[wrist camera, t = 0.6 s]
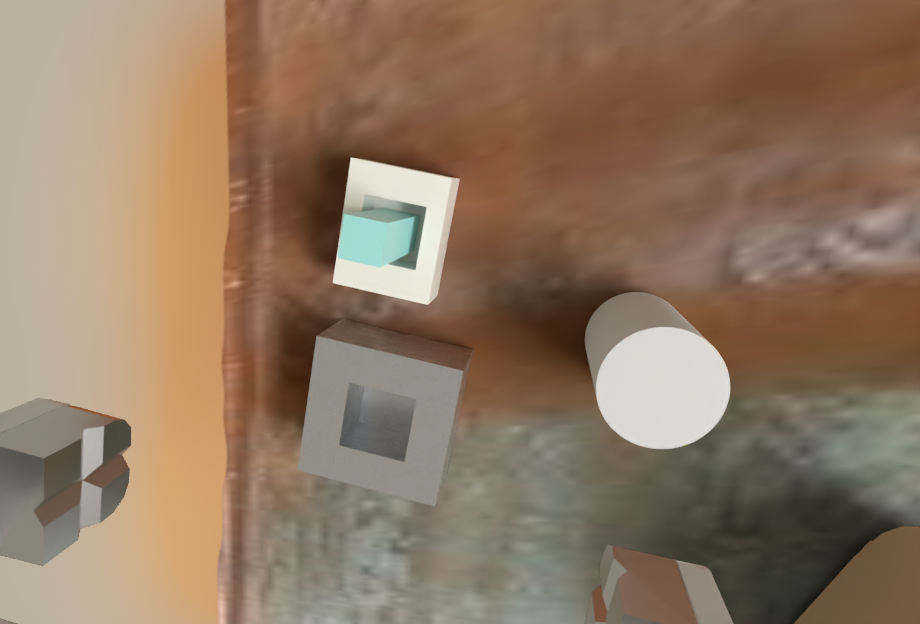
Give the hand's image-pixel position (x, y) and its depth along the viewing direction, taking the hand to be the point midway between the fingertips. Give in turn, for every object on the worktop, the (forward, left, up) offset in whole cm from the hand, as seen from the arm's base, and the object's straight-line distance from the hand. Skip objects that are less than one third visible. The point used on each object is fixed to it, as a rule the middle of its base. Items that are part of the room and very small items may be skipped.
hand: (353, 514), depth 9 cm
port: (+15, -7, -40) cm, 43 cm away
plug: (0, -9, -39) cm, 40 cm away
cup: (+5, +12, -40) cm, 42 cm away
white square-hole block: (0, -9, -40) cm, 41 cm away
